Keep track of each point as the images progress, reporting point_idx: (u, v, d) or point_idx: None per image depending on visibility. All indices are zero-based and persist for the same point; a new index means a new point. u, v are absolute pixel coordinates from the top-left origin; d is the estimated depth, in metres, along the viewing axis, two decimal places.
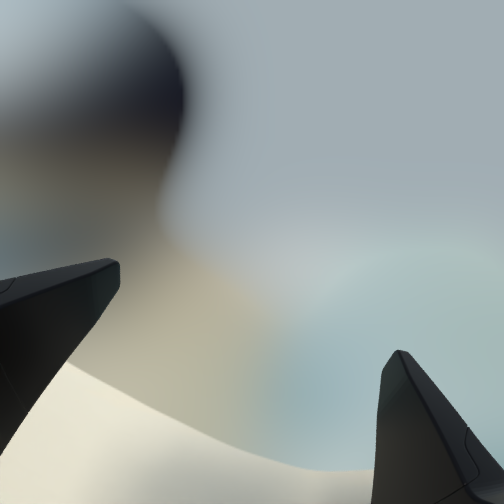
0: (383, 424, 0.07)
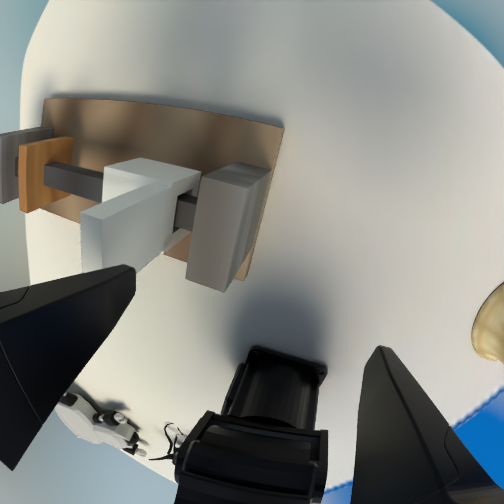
0: (363, 421, 0.07)
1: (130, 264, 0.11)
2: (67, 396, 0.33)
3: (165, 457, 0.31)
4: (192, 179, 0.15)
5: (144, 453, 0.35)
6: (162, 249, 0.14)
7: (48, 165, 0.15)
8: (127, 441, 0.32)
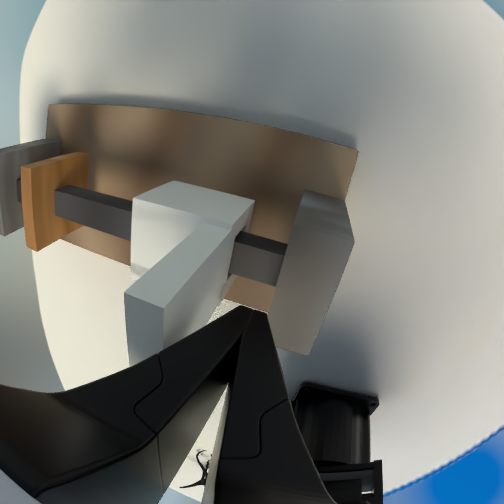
0: None
1: None
2: None
3: (196, 483, 0.28)
4: (247, 212, 0.12)
5: None
6: (217, 304, 0.11)
7: (60, 190, 0.13)
8: None
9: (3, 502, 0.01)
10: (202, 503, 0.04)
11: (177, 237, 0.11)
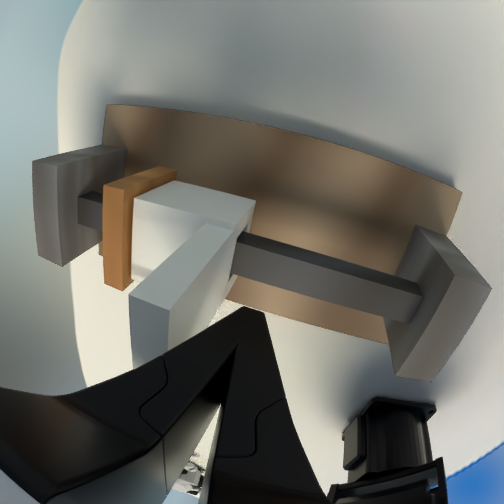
0: (225, 386, 0.07)
1: None
2: None
3: None
4: (249, 212, 0.12)
5: None
6: (218, 305, 0.11)
7: None
8: (194, 485, 0.29)
9: None
10: (199, 502, 0.05)
11: (179, 237, 0.11)
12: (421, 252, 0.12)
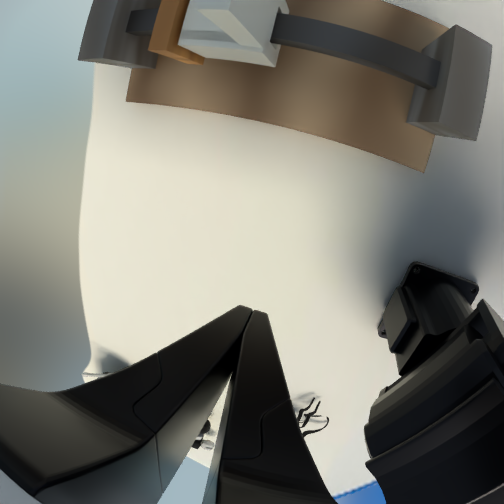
0: (228, 387, 0.07)
1: (249, 12, 0.07)
2: None
3: None
4: (285, 7, 0.11)
5: (212, 445, 0.31)
6: (263, 45, 0.10)
7: None
8: None
9: (2, 501, 0.01)
10: (203, 503, 0.04)
11: None
12: (430, 51, 0.11)
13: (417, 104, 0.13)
